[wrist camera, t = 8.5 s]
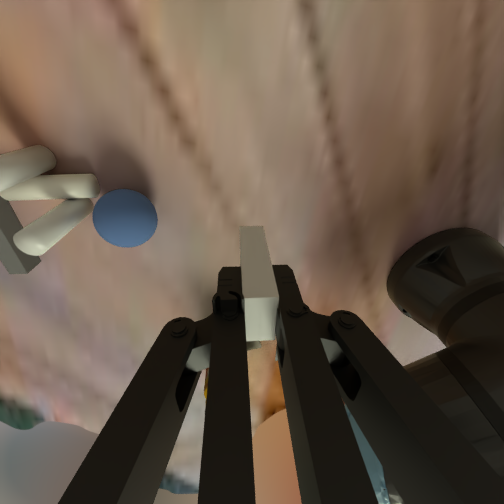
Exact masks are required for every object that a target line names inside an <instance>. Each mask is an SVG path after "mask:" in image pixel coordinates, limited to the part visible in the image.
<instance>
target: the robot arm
mask: <svg viewBox="0 0 504 504" xmlns="http://www.w3.org/2000/svg"><path fill="white" fill-rule="evenodd" d="M387 291H388V295H389V297H390V299H391V300H392V301H393V303H394V304H395V305H396V307H397V308H398V309H399V310H400V311H401V312H402V313H403V314H405V315H406V316H408V317H410V318H412V319H413V320H414V321H416V322H417V323H418V324H420V325H421V326H423V327H424V328H426V329H427V330H429V331H430V332H432V333H433V334H435V335H436V336H437V337H438V338H439V339H440V340H441V341H442V342H443V344H444V345H445V346H446V347H447V348H445V349H443V350H440V351H438V352H436V353H433V354H431V355H428V356H426V357H424V358H422V359H419V360H417V361H415V362H412V363H410V364H408V365H405V366H402V365H401V364H400V363H399V362H398V361H397V360H396V358H395V357H394V356H393V355H392V354H391V353H390V352H389V350H388V349H387V348H386V347H385V346H384V345H383V344H382V343H381V341H380V340H379V339H378V338H377V337H376V336H375V335H374V333H373V332H372V331H371V330H370V329H369V328H368V327H367V326H366V324H365V323H364V322H363V321H362V320H361V319H360V318H359V317H358V316H357V315H356V314H354V313H352V312H350V311H345V310H338V311H335V312H333V313H332V315H331V316H325V315H321V314H317V313H314V312H312V311H311V310H310V309H309V307H308V306H307V305H306V304H304V302H303V300H302V297H301V294H300V291H299V288H298V285H297V283H296V279H295V276H294V273H293V270H292V269H291V268H290V267H289V266H288V265H272V263H271V259H270V254H269V250H268V246H267V241H266V237H265V232H264V228H263V226H240V267H223V268H222V269H221V270H220V272H219V274H218V286H217V293H216V294H215V295H214V297H213V299H212V304H213V313H212V314H211V315H210V316H209V317H207V318H205V319H203V320H200V321H196V322H194V321H193V320H191V319H189V318H186V317H179V318H176V319H173V320H171V321H169V322H168V323H167V324H166V325H165V326H164V327H163V329H162V331H161V332H160V334H159V336H158V337H157V339H156V341H155V342H154V344H153V346H152V347H151V349H150V351H149V352H148V354H147V356H146V357H145V359H144V361H143V362H142V364H141V366H140V367H139V369H138V371H137V372H136V374H135V376H134V377H133V379H132V381H131V382H130V384H129V386H128V387H127V389H126V391H125V392H124V394H123V396H122V397H121V399H120V401H119V402H118V404H117V406H116V407H115V409H114V411H113V412H112V414H111V416H110V417H109V419H108V421H107V422H106V424H105V426H104V427H103V429H102V431H101V432H100V434H99V436H98V437H97V439H96V441H95V442H94V444H93V446H92V447H91V449H90V451H89V452H88V454H87V456H86V458H85V459H84V461H83V462H82V464H81V466H80V468H79V469H78V471H77V473H76V474H75V476H74V478H73V479H72V481H71V482H70V484H69V486H68V487H67V489H66V491H65V492H64V494H63V496H62V497H61V499H60V501H59V502H58V504H153V502H154V500H155V497H156V494H157V491H158V489H159V486H160V483H161V481H162V478H163V475H164V472H165V470H166V467H167V464H168V462H169V459H170V456H171V453H172V451H173V448H174V445H175V442H176V440H177V437H178V434H179V432H180V429H181V426H182V423H183V421H184V418H185V415H186V412H187V410H188V407H189V404H190V402H191V399H192V396H193V393H194V391H195V388H196V385H197V383H198V380H199V377H200V374H201V372H202V370H203V369H206V368H208V367H209V375H208V387H207V398H206V410H205V422H204V434H203V446H202V458H201V470H200V481H199V493H198V504H256V503H255V485H254V468H253V450H252V432H251V414H250V397H249V379H248V362H247V344H246V341H262V340H275V335H276V339H277V348H276V359H275V361H278V363H279V369H280V375H281V381H282V387H283V393H284V399H285V405H286V410H287V417H288V423H289V429H290V434H291V441H292V447H293V453H294V459H295V465H296V471H297V477H298V483H299V489H300V495H301V501H302V504H504V247H503V246H502V245H501V244H500V243H499V242H498V241H497V240H495V239H493V238H492V237H490V236H488V235H486V234H485V233H483V232H481V231H479V230H475V229H471V228H456V229H450V230H446V231H443V232H440V233H437V234H434V235H432V236H430V237H428V238H426V239H424V240H422V241H421V242H419V243H418V244H416V245H415V246H413V247H412V248H411V249H409V250H408V251H407V252H406V253H405V254H404V255H403V256H402V257H401V258H400V259H399V260H398V262H397V263H396V264H395V266H394V267H393V269H392V271H391V273H390V275H389V278H388V282H387ZM341 397H342V398H341ZM342 399H343V401H344V402H345V406H344V403H343V401H342Z"/></svg>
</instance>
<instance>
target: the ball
mask: <svg viewBox="0 0 504 504" xmlns="http://www.w3.org/2000/svg"><path fill="white" fill-rule="evenodd" d="M157 221H158V219H157V213H156V210H155V207H154V206H153V204H152V203H151V201H150V200H149V199H148V198H147V197H145V196H144V195H142V194H141V193H139V192H137V191H133V190H129V189H117V190H113V191H110V192H108V193H106V194H105V195H103V196H102V197H101V198H100V199H99V200H98V201H97V203H96V205H95V207H94V210H93V223H94V226H95V229H96V230H97V232H98V233H99V235H100V236H101V237H102V238H103V239H104V240H106V241H107V242H109V243H111V244H113V245H116V246H119V247H135V246H138V245H141V244H143V243H145V242H146V241H148V240H149V239H150V238H151V237H152V235H153V234H154V232H155V230H156V227H157Z"/></svg>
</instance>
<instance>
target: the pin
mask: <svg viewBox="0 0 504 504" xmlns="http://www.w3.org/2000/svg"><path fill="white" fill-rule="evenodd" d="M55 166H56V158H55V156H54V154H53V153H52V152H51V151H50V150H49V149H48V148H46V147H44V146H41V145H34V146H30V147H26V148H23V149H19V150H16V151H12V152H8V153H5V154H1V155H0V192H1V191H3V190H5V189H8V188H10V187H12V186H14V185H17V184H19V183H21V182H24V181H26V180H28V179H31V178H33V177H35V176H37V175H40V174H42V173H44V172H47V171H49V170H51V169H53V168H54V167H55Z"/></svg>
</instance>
